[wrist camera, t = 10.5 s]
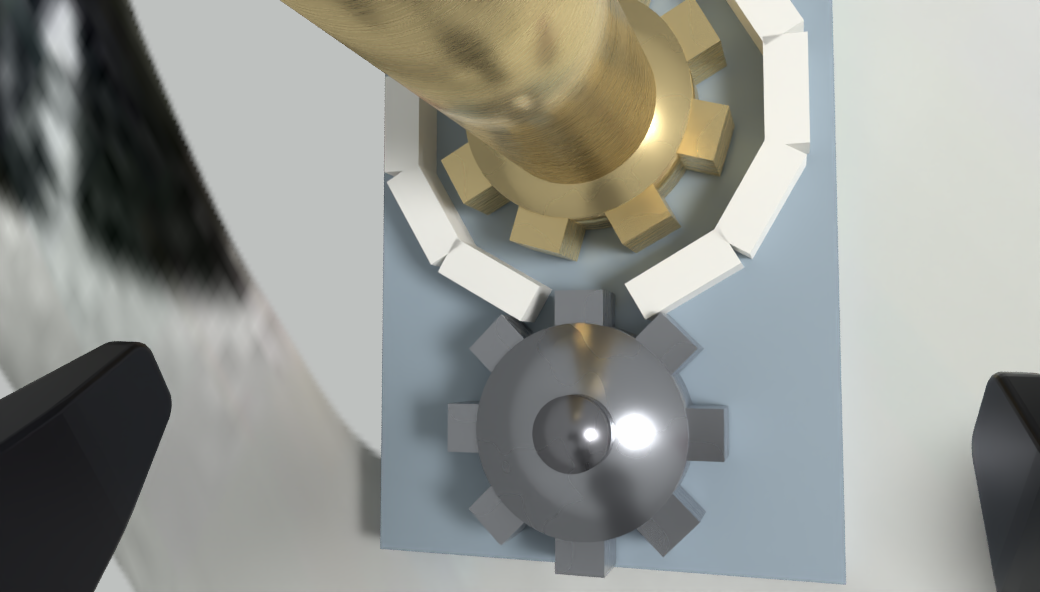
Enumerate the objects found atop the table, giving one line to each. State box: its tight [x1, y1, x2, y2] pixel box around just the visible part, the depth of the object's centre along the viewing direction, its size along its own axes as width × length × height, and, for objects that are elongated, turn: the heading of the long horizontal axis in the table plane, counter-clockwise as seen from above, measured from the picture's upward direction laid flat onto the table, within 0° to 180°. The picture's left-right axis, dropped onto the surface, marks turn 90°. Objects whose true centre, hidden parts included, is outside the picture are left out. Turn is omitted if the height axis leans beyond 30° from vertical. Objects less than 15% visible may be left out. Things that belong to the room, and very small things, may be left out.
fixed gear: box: [448, 290, 729, 578], centre depth 21 cm, size 7×7×2 cm
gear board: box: [380, 0, 846, 585], centre depth 22 cm, size 17×12×2 cm
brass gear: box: [280, 0, 735, 262], centre depth 16 cm, size 7×7×13 cm
